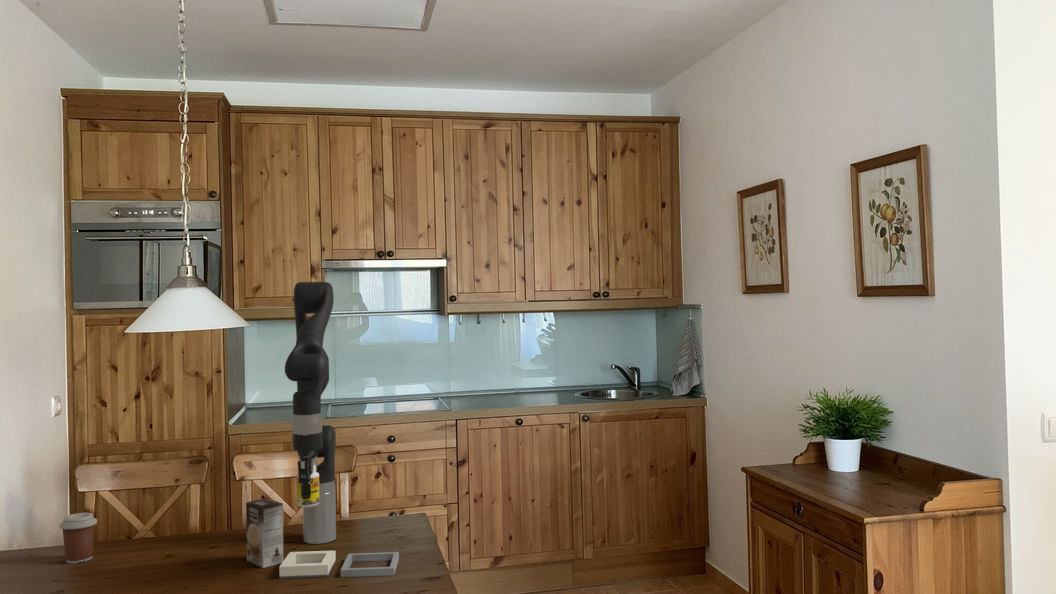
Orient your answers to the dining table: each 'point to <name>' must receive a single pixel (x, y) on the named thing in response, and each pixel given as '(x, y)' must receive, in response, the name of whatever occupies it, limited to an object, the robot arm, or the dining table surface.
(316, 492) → the supplement bottle
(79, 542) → the coffee cup
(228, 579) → the dining table surface
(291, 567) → the holder
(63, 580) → the dining table surface
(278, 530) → the coffee box
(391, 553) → the tray
